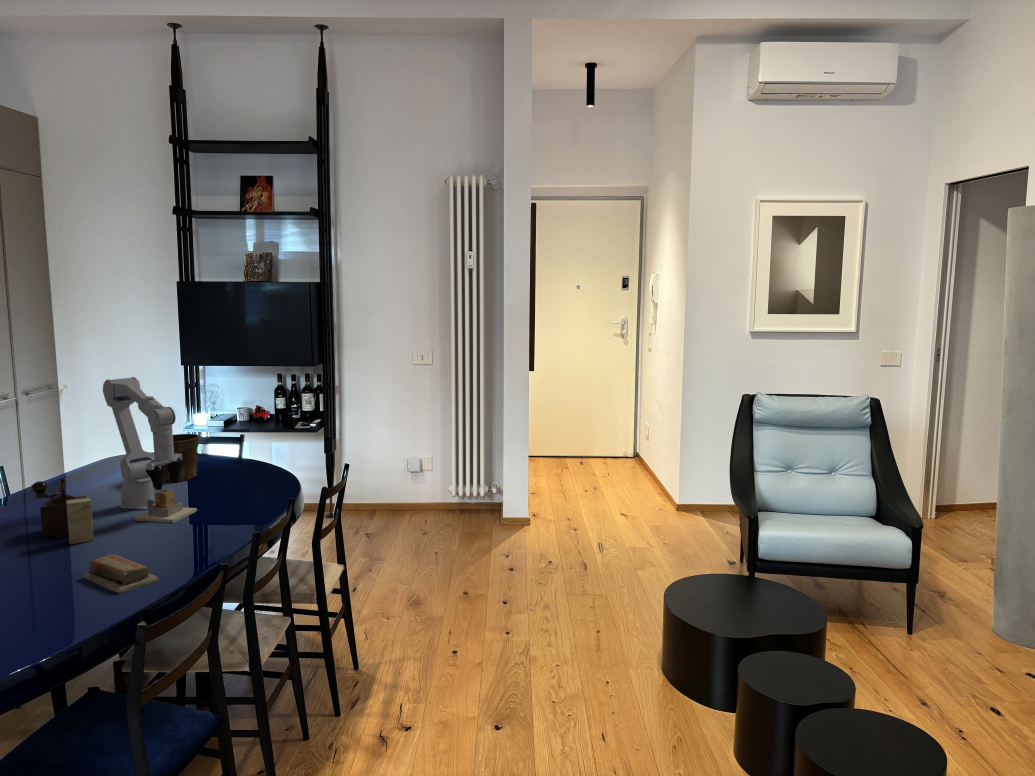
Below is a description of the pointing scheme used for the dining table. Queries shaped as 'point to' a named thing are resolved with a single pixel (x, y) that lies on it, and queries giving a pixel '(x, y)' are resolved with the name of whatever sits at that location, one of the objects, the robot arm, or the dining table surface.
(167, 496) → the wooden block
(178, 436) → the plant pot
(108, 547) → the dining table surface
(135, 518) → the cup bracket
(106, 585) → the packaged product
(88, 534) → the skincare box
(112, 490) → the dining table surface
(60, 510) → the manual coffee grinder
